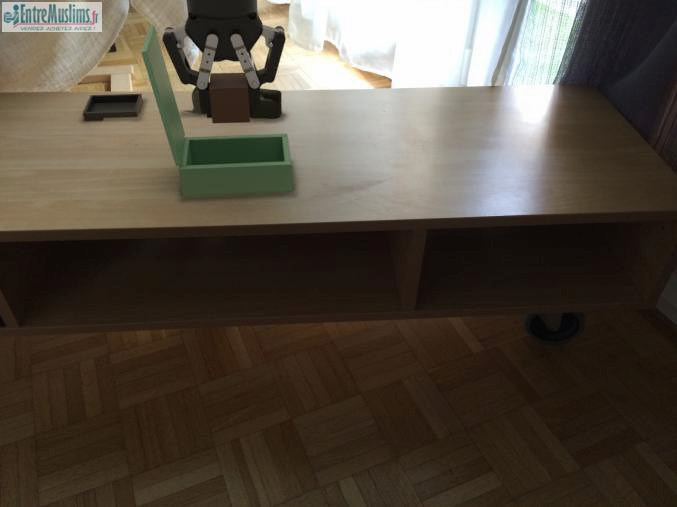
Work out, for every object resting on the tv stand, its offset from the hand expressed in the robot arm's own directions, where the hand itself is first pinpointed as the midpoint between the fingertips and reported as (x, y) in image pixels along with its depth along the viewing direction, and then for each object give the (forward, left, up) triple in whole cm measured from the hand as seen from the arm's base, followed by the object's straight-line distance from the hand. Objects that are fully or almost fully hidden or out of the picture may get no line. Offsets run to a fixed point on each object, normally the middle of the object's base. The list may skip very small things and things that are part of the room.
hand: (231, 113), depth 74 cm
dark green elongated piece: (-1, +19, -10) cm, 22 cm away
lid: (-7, 0, +2) cm, 8 cm away
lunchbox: (0, 0, -10) cm, 10 cm away
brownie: (0, 0, 0) cm, 0 cm away
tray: (-19, +22, -10) cm, 31 cm away
